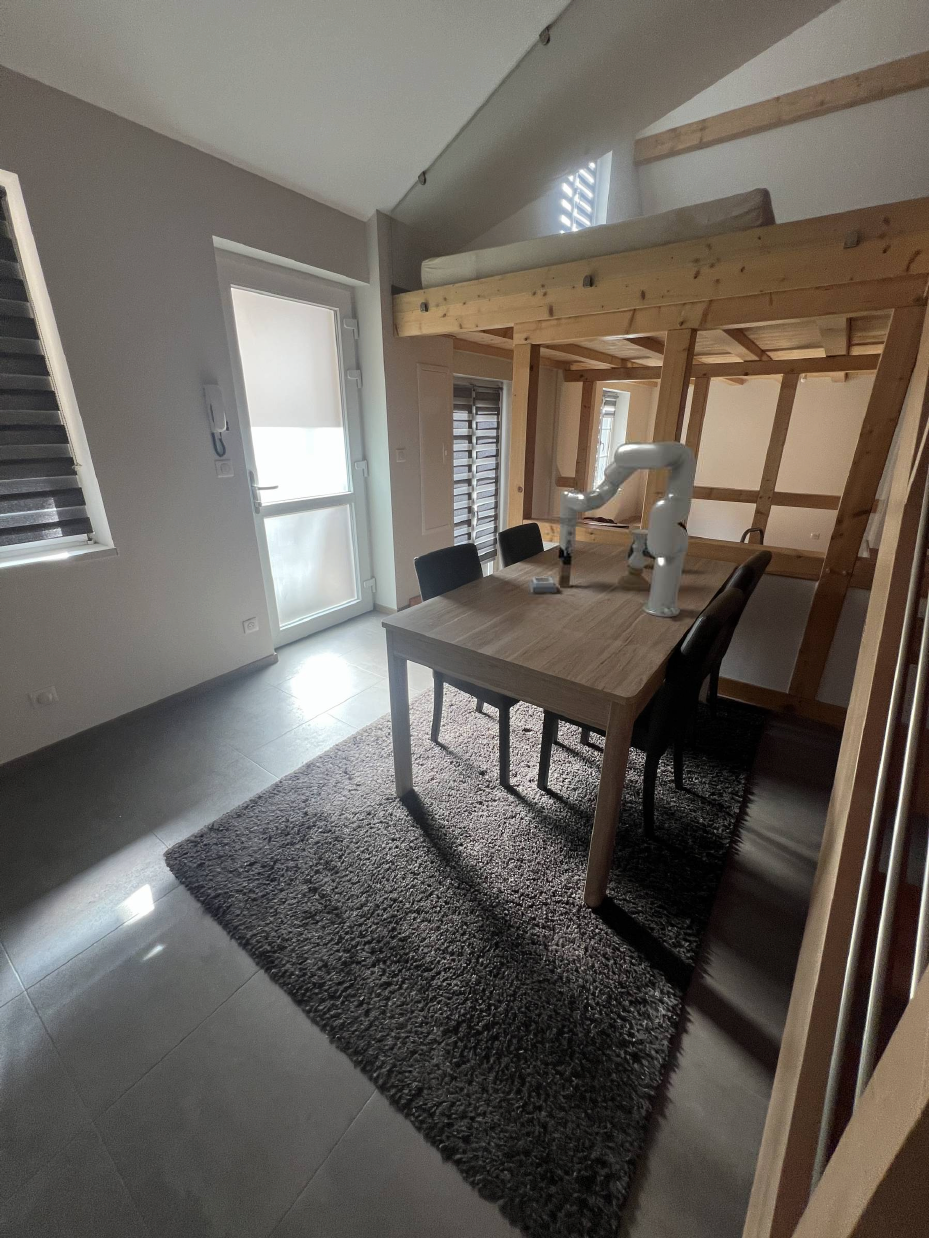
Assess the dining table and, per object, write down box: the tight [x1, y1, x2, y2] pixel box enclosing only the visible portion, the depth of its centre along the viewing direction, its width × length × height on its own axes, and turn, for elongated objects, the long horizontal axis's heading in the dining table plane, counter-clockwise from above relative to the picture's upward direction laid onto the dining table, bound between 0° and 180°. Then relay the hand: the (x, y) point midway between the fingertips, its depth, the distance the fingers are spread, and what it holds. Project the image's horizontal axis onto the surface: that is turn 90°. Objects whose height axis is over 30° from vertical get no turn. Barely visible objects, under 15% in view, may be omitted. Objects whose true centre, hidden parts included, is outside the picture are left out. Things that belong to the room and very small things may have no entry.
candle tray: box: [528, 576, 558, 595], centre depth 207 cm, size 10×10×4 cm
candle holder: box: [617, 528, 651, 591], centre depth 207 cm, size 11×11×24 cm
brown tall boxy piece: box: [557, 558, 572, 589], centre depth 210 cm, size 4×4×12 cm
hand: (564, 561), depth 209 cm, fingers open, 9 cm apart
